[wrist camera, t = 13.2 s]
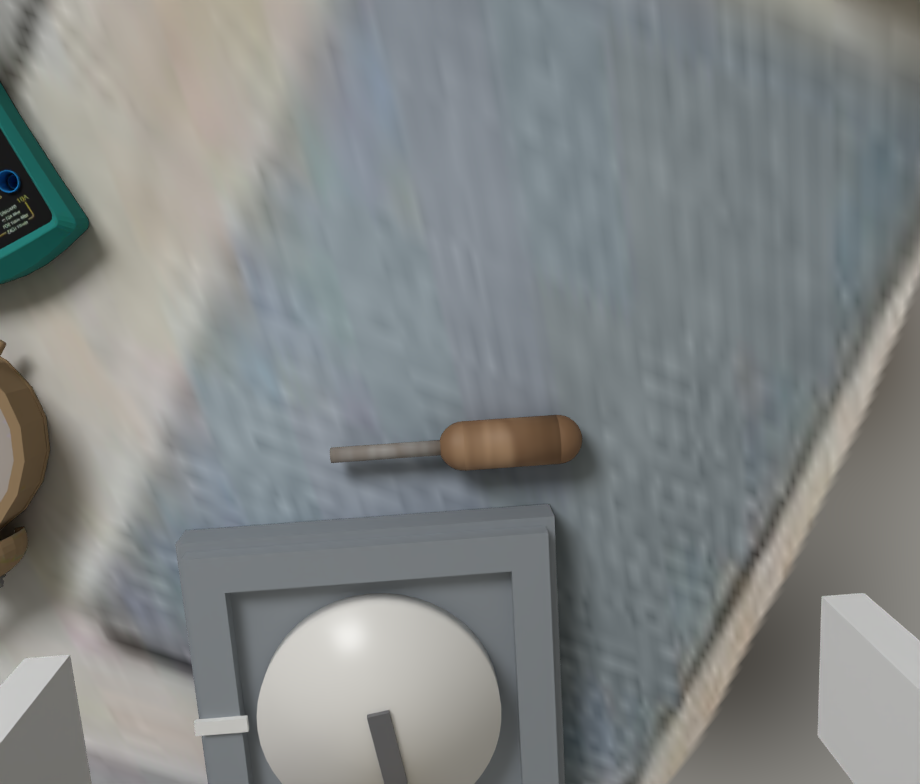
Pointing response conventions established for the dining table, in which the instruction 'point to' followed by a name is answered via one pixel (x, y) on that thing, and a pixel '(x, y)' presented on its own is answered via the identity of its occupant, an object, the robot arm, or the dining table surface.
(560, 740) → the panel
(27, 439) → the alarm clock
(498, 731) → the dial
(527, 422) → the screwdriver
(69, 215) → the digital multimeter
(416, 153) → the dining table surface
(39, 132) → the dining table surface
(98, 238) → the dining table surface
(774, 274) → the dining table surface
